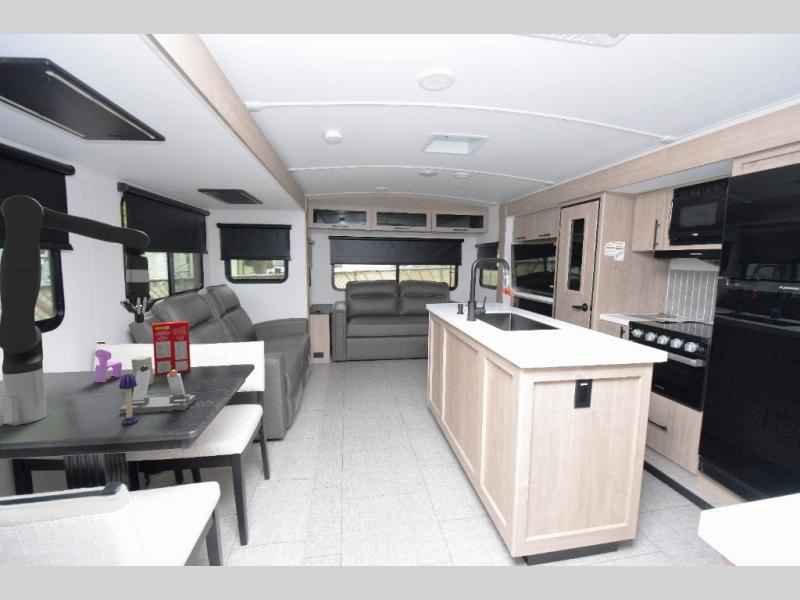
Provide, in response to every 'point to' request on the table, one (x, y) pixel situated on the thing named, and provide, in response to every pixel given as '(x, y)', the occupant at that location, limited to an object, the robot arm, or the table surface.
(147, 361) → the skincare box
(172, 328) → the food packaging
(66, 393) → the table surface
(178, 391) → the copper knob lever
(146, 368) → the black knob lever
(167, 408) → the switch panel
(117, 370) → the toy chair
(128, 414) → the toy lamp
